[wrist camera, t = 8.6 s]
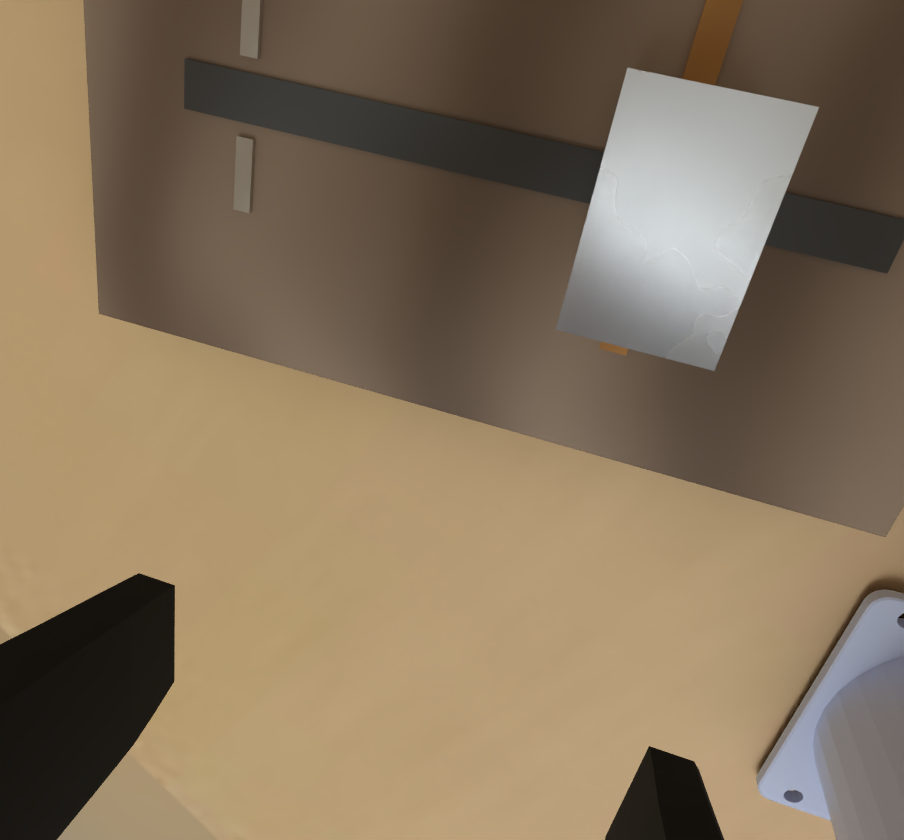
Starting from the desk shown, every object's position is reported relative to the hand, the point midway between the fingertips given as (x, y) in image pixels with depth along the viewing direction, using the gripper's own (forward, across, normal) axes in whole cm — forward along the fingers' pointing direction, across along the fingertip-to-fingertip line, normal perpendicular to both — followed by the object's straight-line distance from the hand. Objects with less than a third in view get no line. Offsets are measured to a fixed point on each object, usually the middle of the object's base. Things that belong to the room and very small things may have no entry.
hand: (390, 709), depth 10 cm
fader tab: (+8, -2, -7) cm, 11 cm away
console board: (+9, +1, -7) cm, 12 cm away
